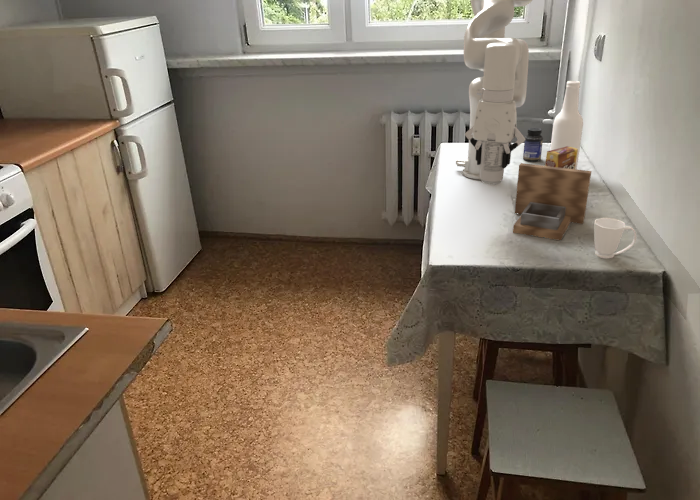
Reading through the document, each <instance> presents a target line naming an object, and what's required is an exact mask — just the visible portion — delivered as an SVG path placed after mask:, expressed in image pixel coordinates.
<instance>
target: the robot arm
mask: <svg viewBox="0 0 700 500" xmlns="http://www.w3.org/2000/svg"><path fill="white" fill-rule="evenodd" d="M469 1H470V5H471V10H472V12H473V16H474V17H473V18H472V19H471V20H470V21H469V23H468V24H467V27H466V29H465V32H464V37H463V61H464V62H463V63H464V64H465V66H466V67H467V68H468V69H471V70H479V72H483V76H479V77H476V78H474V79H473V80H472V81H470V84H469V85H468V86H469V87H468V97H469V99H468V100H469V113H470V115H469V129H468V130H467V131H466V132H465V133H464V137H466V139H468V152H467V153H468V155H467V158H466V159H461V158H456V161H455V165H456V166H457V167H461V168H463V169H462V173H461V174H462V175H463V176H464V177H466V178H468V179H471V180H478V181H479V180H481V179H480V166H481V152H482V141H487V135H488V134H490V133H491V134H493V133H494V134H495V135H496V142H497V143H503V145H504V149H505V153H503V161H502V168H504V169H506V168H507V166H509V165H510V164H511V155H512V151H514V150H515V149H517V147H519V146H520V145H521V144H523V143H524V142H525V136H524V135H523V134H522V132H521V131H520V130H519V129H518V128H517V118H518V116H517V114H518V113H517V108H520V107H522V106H523V105H524V104H525V103H526V99H527V98H526V97H527V89H528V88H527V87H528V76H529V75H528V72H529V71H528V70H529V60H530V59H529V58H530V57H529V56H530V55H529V53H530V52H529V47H528V45H529V44H528V43H527V42H526V40H524V39H520V38H514V37H506V36H505V34H506V27H507V26H508V25H509V24H510V23H511V22H513V19H514V16H515V7H516V8H517V7H520V8H521V7H526V6H528V5H529V4H531V2H532V1H533V0H469ZM515 138H516V139H517V140H516V141H515V142H514V143H512V141H513V140H514V139H515ZM481 181H482V180H481Z"/></svg>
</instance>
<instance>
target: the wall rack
mask: <svg viewBox="0 0 700 500" xmlns="http://www.w3.org/2000/svg"><path fill="white" fill-rule="evenodd" d="M517 173H518V176H517V184H516V185H517V186H516V195H515V196H516V197H515V205H514V206H515V207H514V208H515V209H514V214H515V213H518V214H517V215H520V214H521V215H520V216H519V218H517V220H516V221H515V223H514V224H513V227H512V233H513V234H518V235H519V234H521V235H525V234H526V235H525V236H531V235H533V236H532V237H537V236H538V237H539V238H543V237H545V238H544V239H548V238H549V239H550V240H554V239H555V240H554V241H560V240H561V241H562V239H563V237H564V235H565V234H566V232H567V231H568V229H569V227H570V225H571V223H572V222H573V224H579V225H583V224H584V222H585V217H586V210H587V203H588V199H589V198H588V197H589V191H590V184H591V179H592V171H591V170H583V169H578V168H577V169H568V168H559V167H550V166H545V165H540V164H533V163H524V162H523V163H522V162H521V163H520V164H519V165H518V172H517ZM569 224H570V225H569ZM568 226H569V227H568Z"/></svg>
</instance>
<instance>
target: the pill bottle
mask: <svg viewBox="0 0 700 500" xmlns="http://www.w3.org/2000/svg"><path fill="white" fill-rule="evenodd" d="M542 130H543V129H542V128H540V127H529V128H527V135H525V136H524V137H525V141H524V142H523V143H524V145H523V154H522V158H523V160H524V161H526V162H530V163H533V162H535V163H536V162H537V163H538V162H540V161H541V159H542V150H543V140H544V137H543V136H542V135H541V134H542V132H543V131H542Z"/></svg>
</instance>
